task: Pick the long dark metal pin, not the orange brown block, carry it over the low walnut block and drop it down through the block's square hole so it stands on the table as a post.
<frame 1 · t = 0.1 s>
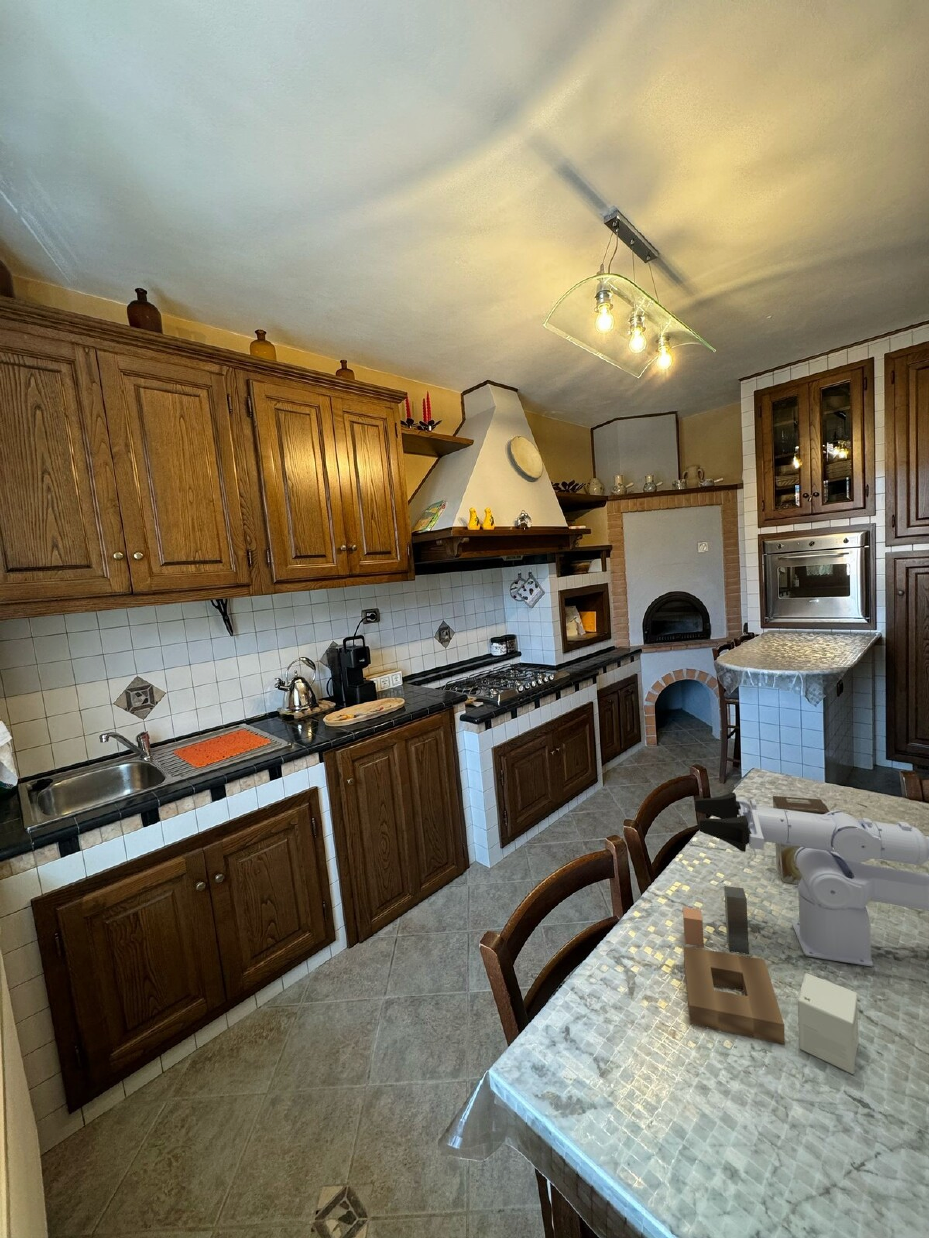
hand: (697, 814, 90), 22 cm above the table, tool horizontal, fingers open, 7 cm apart
orange brown block: (693, 939, 88), on the table
coffee box: (803, 878, 103), on the table
product box: (828, 1046, 67), on the table
hole block: (729, 999, 76), on the table
long metal pin: (737, 946, 86), on the table
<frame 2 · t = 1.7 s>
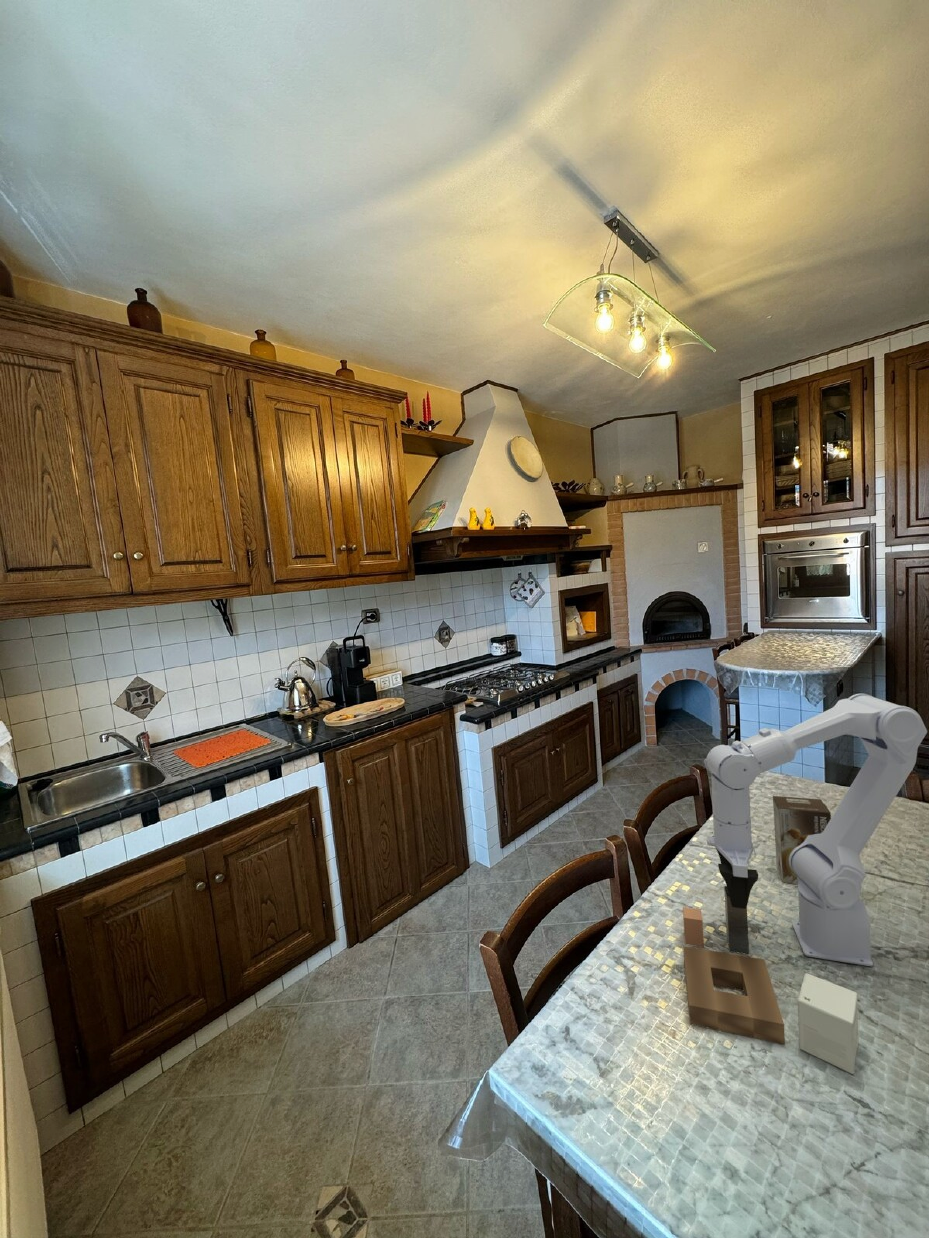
hand: (734, 892, 85), 10 cm above the table, tool pointing down, fingers open, 7 cm apart
nothing on the table moved.
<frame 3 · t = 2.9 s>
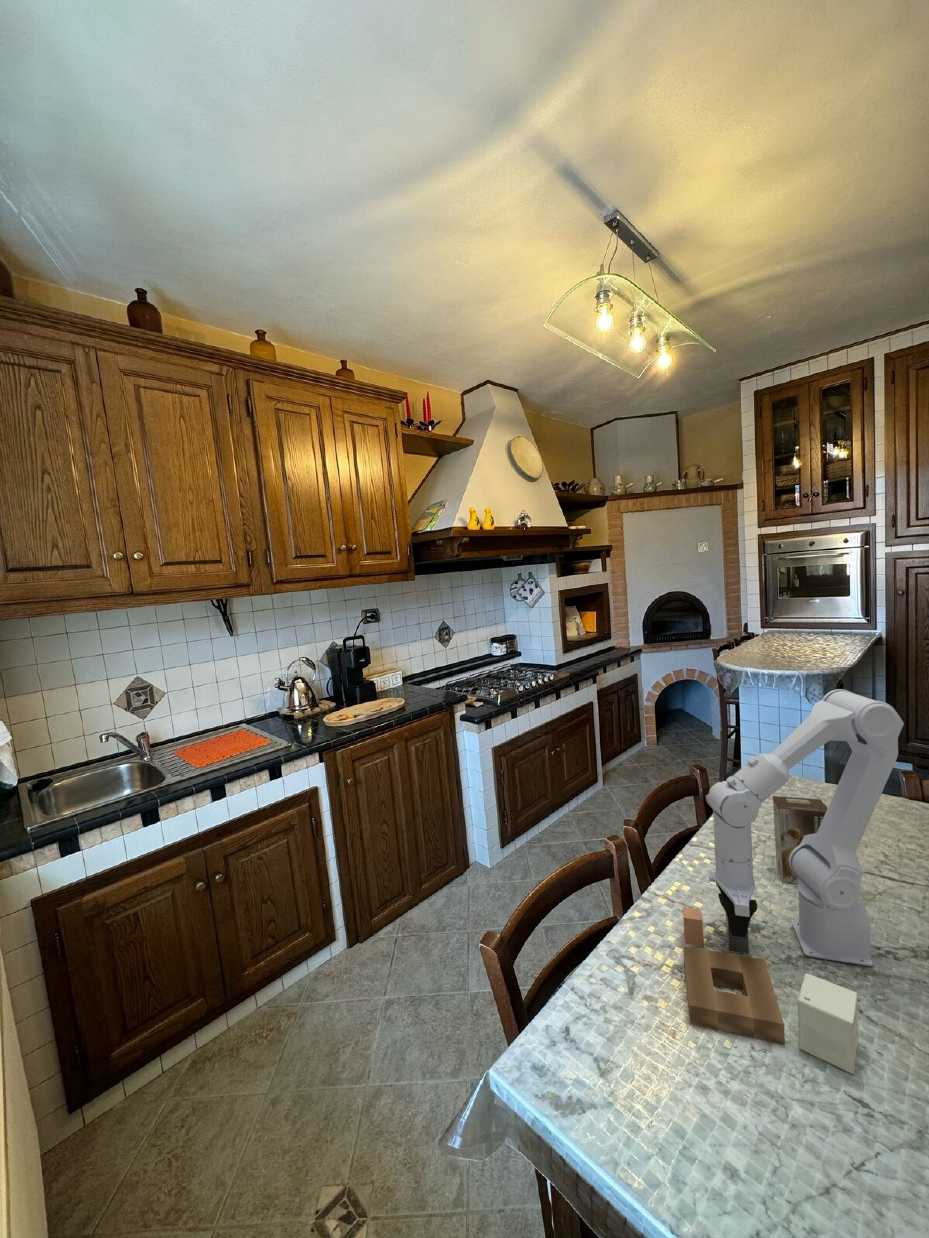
hand: (736, 927, 86), 3 cm above the table, tool pointing down, fingers closed on long metal pin, 3 cm apart
long metal pin: (737, 946, 86), on the table, touching gripper
everything else where it was.
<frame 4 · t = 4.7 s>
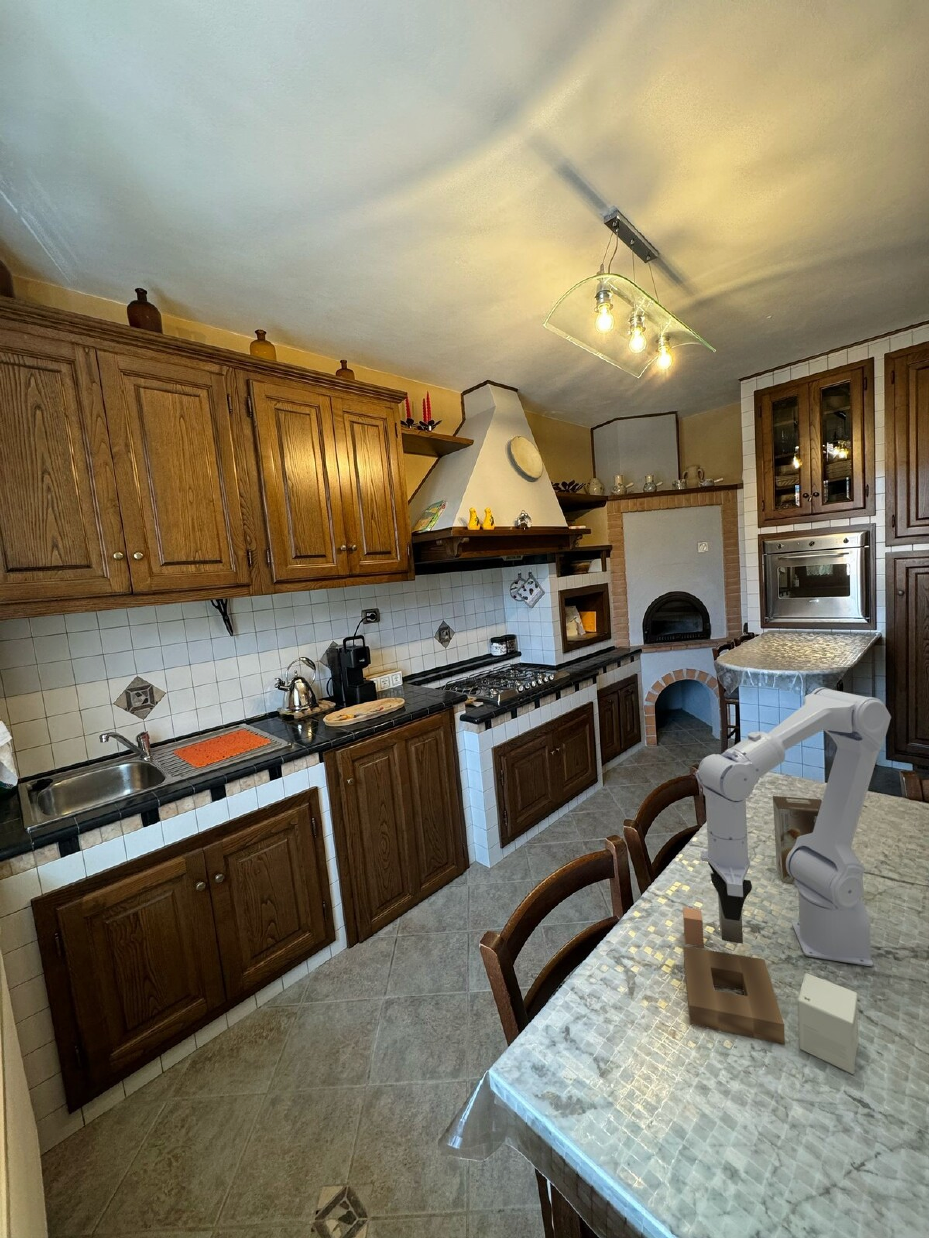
hand: (730, 910, 80), 10 cm above the table, tool pointing down, fingers closed on long metal pin, 3 cm apart
long metal pin: (731, 935, 80), point 6 cm above the table, touching gripper
everything else where it was.
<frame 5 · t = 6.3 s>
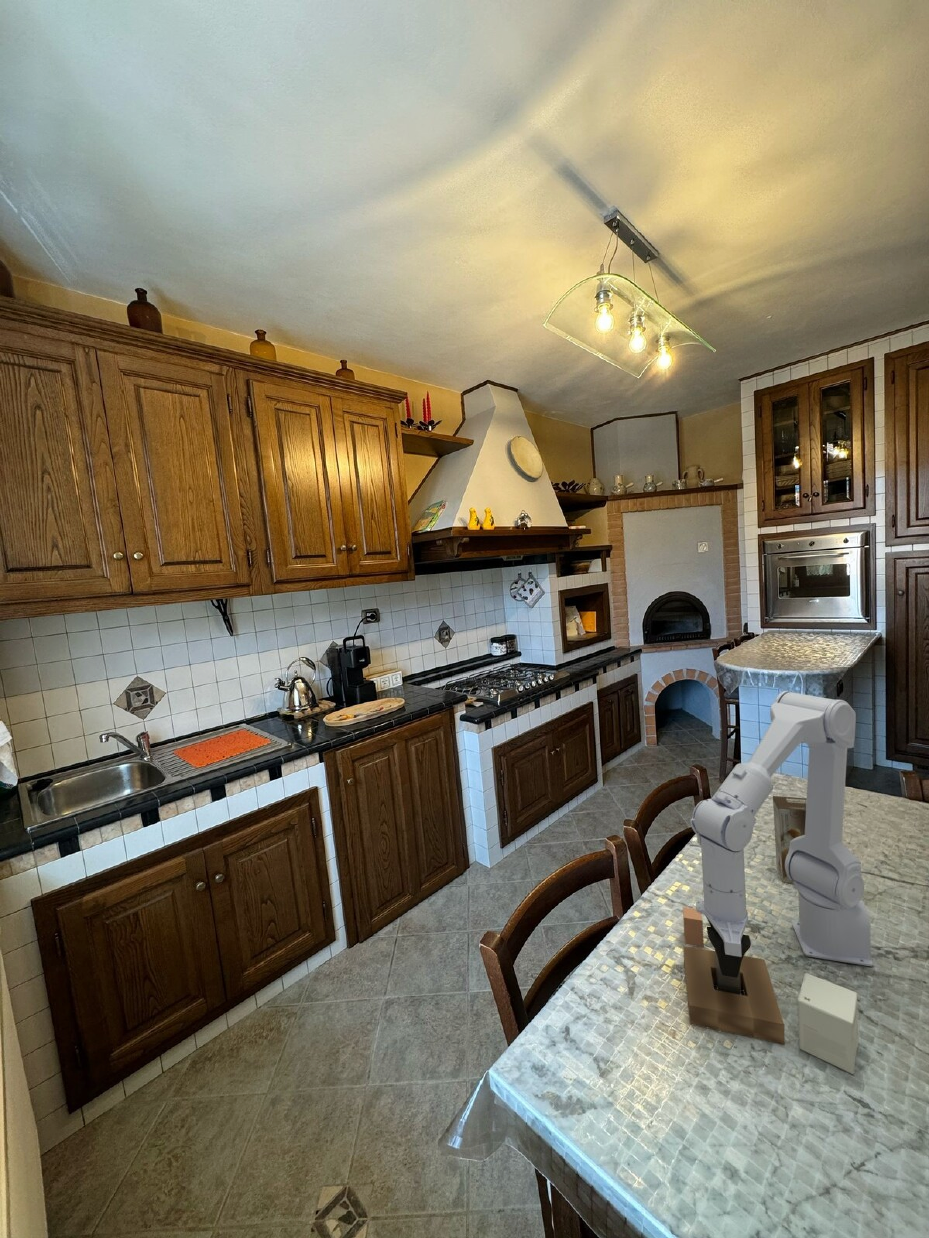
hand: (727, 965, 75), 6 cm above the table, tool pointing down, fingers closed on long metal pin, 3 cm apart
long metal pin: (728, 994, 76), point 1 cm above the table, touching gripper
everything else where it was.
when the fingers open (5 cm above the table, at t = 6.8 s): long metal pin stays where it is, resting in hole block.
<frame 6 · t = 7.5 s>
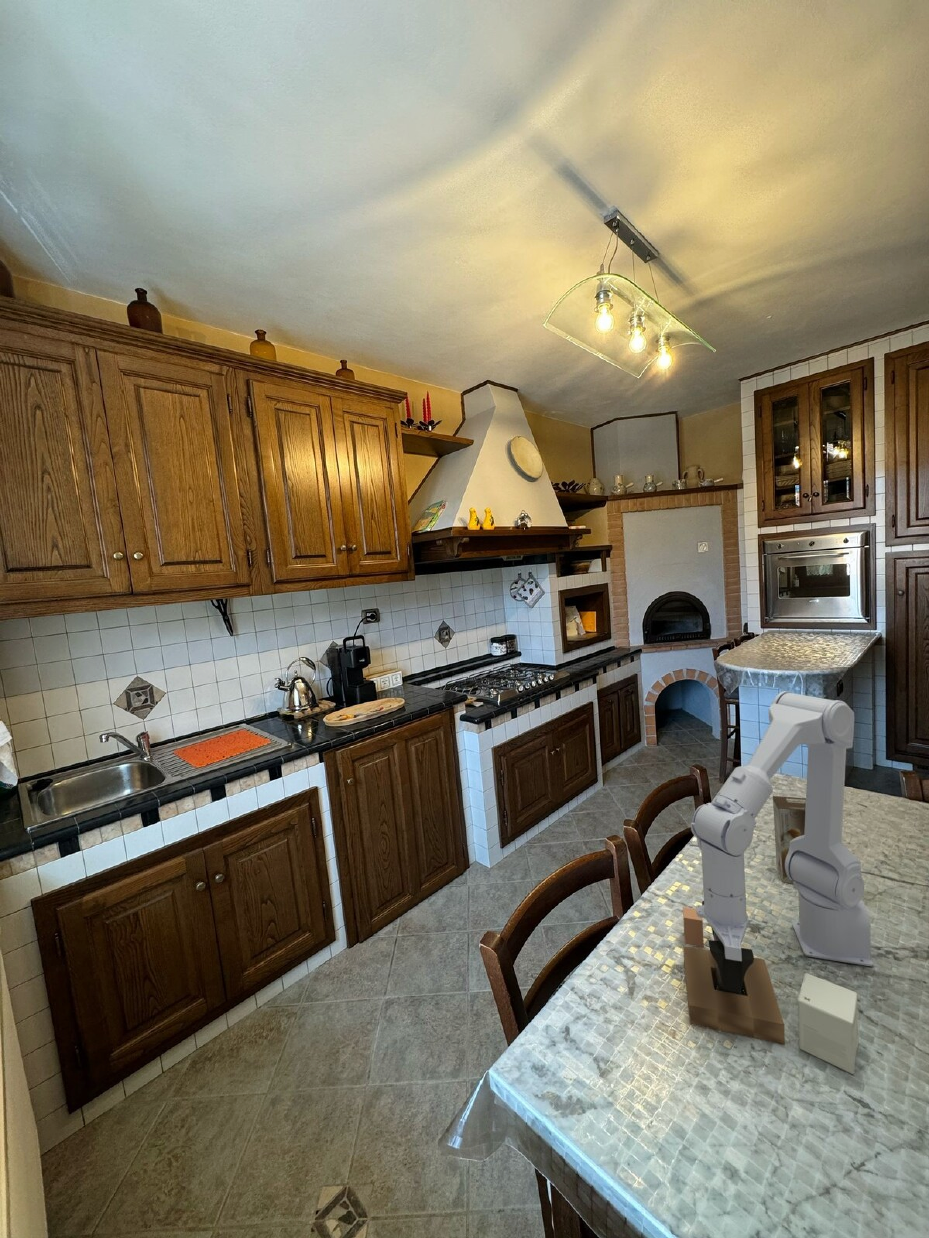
hand: (727, 969, 75), 5 cm above the table, tool pointing down, fingers open, 7 cm apart
long metal pin: (729, 999, 76), resting in hole block
everything else where it was.
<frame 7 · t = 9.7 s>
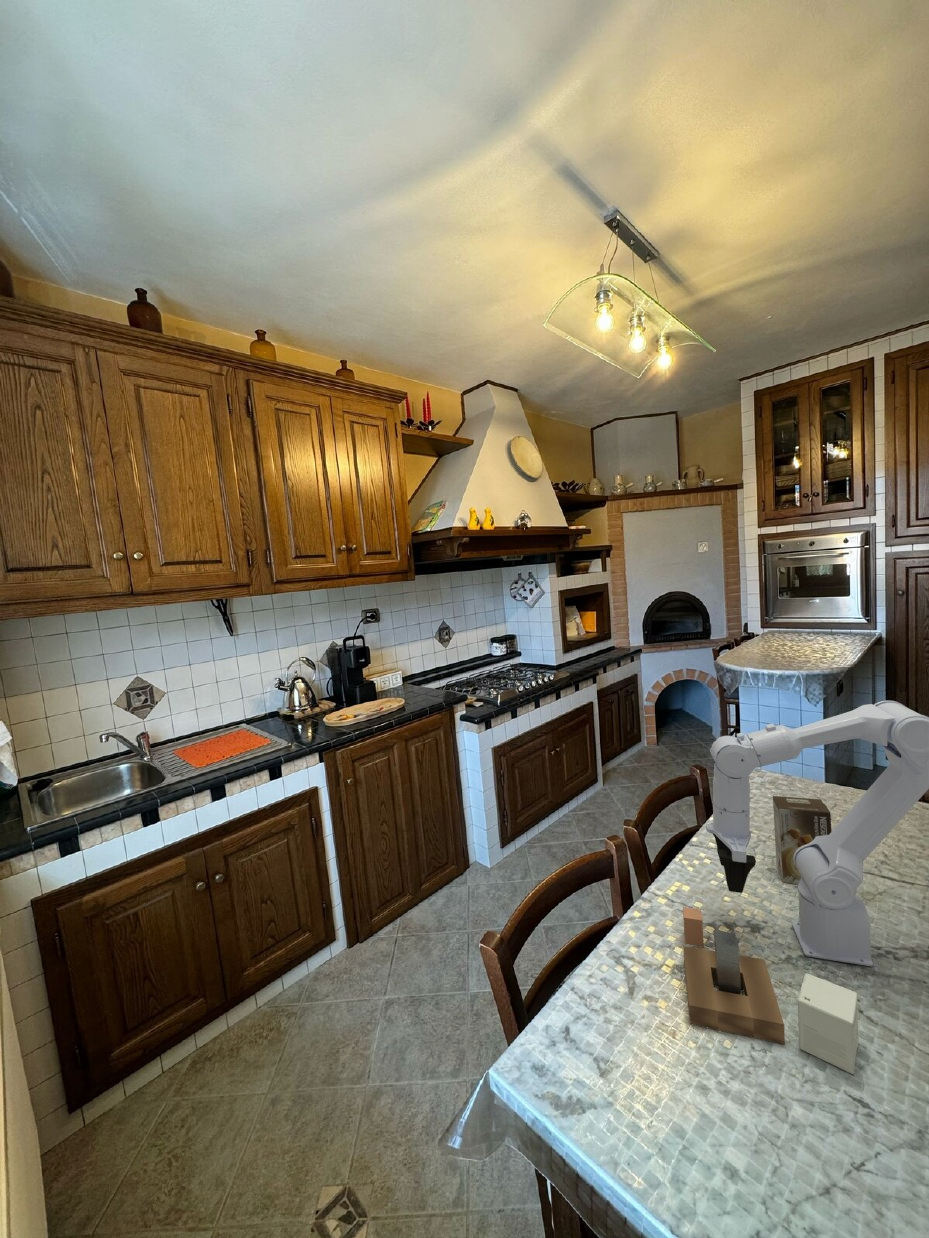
hand: (731, 877, 88), 10 cm above the table, tool pointing down, fingers open, 7 cm apart
nothing on the table moved.
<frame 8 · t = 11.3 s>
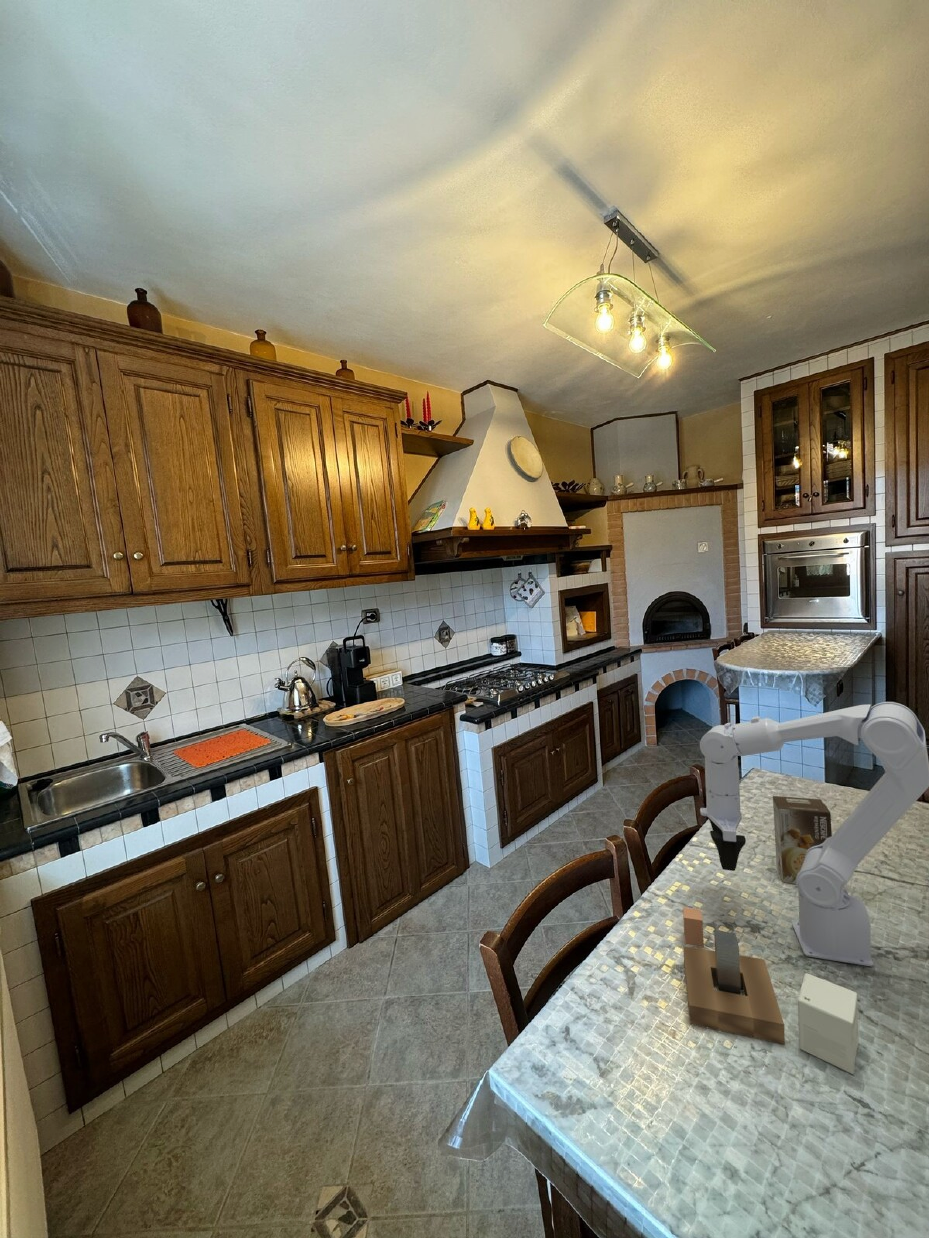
hand: (725, 857, 94), 10 cm above the table, tool pointing down, fingers open, 7 cm apart
nothing on the table moved.
at the end: long metal pin 0.1 cm off-centre on the hole block, point 0.0 cm above the hole block's base; long metal pin tilted 0°; orange brown block moved 0.1 cm from its start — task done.
